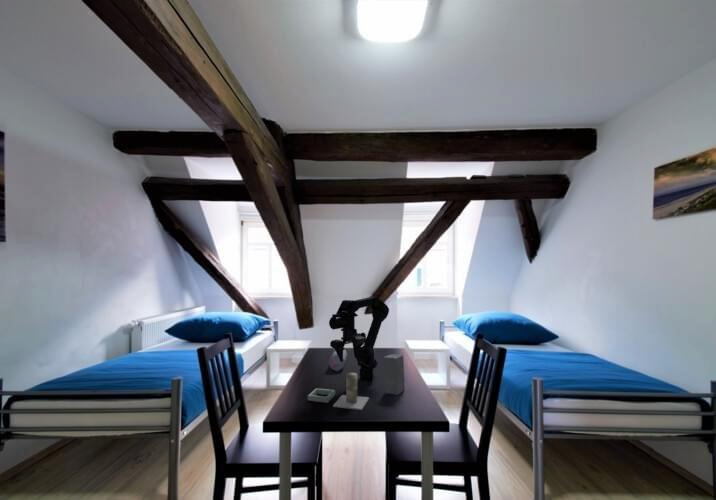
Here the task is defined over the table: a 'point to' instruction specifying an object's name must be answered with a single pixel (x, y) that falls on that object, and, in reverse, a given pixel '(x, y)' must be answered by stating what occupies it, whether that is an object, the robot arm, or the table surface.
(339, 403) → the rubber mat
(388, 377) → the skincare box
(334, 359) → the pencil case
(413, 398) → the table surface
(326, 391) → the green collar
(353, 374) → the ash peg
